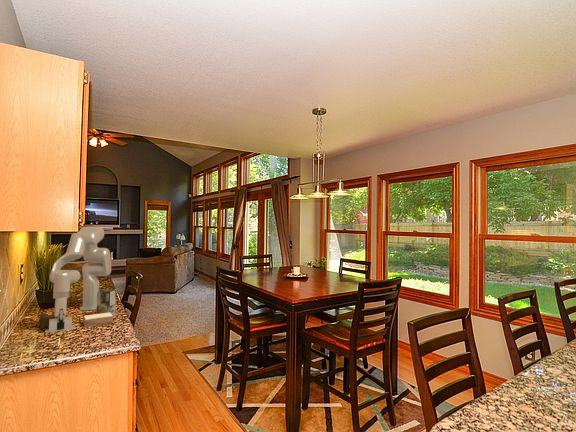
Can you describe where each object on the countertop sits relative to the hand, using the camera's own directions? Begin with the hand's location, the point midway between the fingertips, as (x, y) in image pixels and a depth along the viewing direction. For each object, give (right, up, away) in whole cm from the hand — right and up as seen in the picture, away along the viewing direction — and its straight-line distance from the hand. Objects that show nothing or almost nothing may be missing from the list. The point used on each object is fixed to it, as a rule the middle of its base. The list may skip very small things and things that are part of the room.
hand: (60, 327), depth 176 cm
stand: (+14, -2, +12) cm, 18 cm away
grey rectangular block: (-13, -2, +10) cm, 16 cm away
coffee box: (+10, -2, +27) cm, 29 cm away
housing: (0, -1, 0) cm, 1 cm away
